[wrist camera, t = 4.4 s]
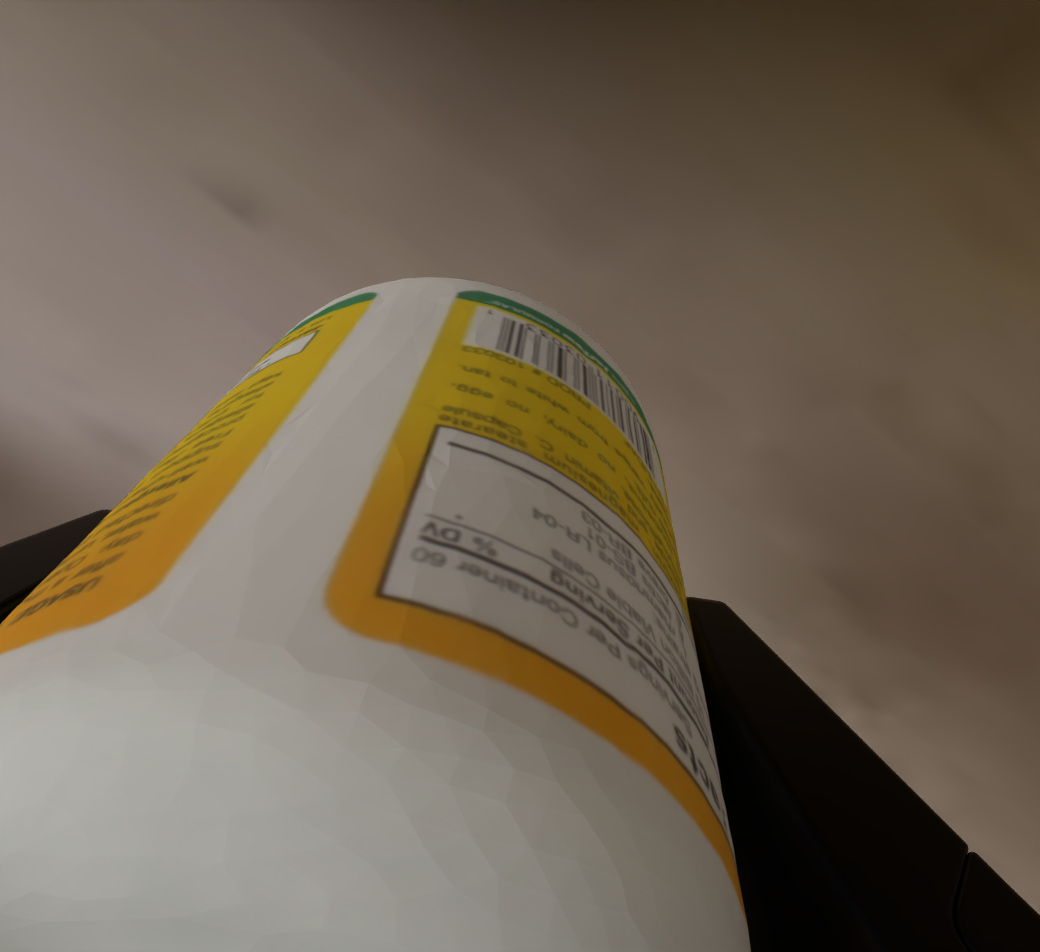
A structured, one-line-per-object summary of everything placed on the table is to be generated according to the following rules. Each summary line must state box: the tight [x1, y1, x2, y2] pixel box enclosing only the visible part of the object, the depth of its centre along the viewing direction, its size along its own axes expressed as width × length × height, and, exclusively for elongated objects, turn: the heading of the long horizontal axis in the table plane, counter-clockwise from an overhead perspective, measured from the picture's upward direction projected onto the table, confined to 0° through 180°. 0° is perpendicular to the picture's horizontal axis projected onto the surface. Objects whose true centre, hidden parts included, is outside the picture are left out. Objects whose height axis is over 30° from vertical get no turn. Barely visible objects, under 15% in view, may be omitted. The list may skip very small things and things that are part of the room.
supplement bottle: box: [0, 277, 751, 952], centre depth 7 cm, size 5×5×10 cm
